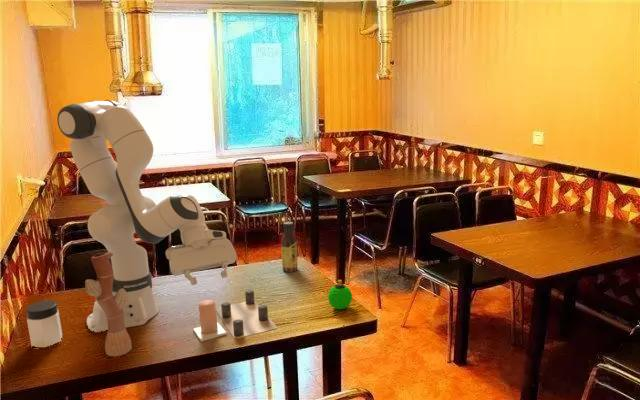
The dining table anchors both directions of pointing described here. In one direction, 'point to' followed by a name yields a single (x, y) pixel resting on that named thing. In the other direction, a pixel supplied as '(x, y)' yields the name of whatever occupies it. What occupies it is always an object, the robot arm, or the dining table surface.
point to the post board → (245, 317)
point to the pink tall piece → (110, 305)
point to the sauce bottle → (289, 248)
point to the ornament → (340, 296)
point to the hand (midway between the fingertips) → (210, 280)
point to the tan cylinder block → (208, 317)
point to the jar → (44, 323)
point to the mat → (209, 336)
